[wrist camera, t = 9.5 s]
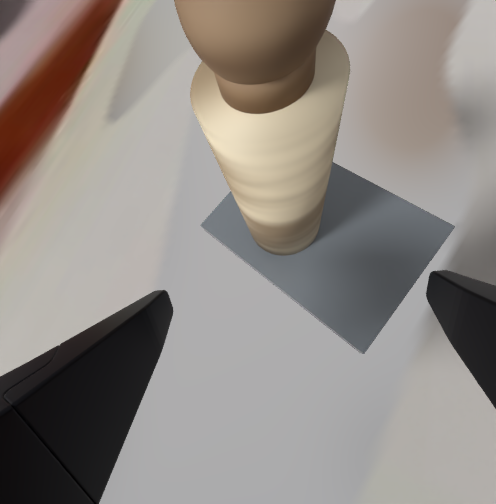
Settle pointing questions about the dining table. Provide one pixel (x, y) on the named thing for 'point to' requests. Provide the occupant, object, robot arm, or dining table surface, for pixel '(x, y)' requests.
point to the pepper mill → (270, 108)
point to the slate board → (345, 255)
